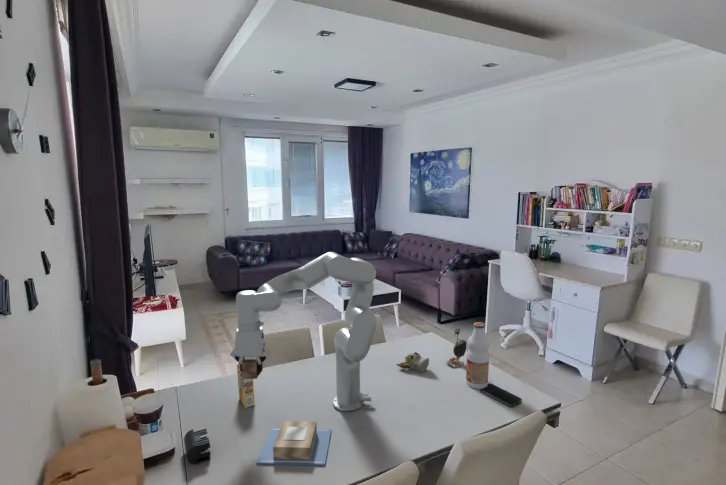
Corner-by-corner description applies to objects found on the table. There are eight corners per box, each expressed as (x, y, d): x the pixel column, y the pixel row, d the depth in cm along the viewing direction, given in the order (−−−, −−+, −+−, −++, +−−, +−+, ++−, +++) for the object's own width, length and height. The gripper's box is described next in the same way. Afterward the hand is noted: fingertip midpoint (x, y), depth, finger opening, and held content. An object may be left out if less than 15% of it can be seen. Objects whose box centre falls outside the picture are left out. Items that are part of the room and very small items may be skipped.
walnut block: (260, 372, 147) (259, 356, 146) (256, 378, 142) (255, 363, 141) (247, 371, 147) (246, 356, 146) (242, 378, 142) (241, 362, 141)
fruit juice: (479, 391, 170) (482, 329, 166) (461, 383, 178) (463, 323, 173) (492, 384, 176) (495, 324, 172) (474, 376, 183) (476, 318, 179)
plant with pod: (471, 364, 195) (472, 325, 192) (452, 369, 191) (453, 329, 188) (460, 358, 203) (462, 320, 200) (442, 362, 198) (443, 323, 195)
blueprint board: (331, 430, 144) (331, 429, 144) (324, 465, 127) (324, 463, 127) (271, 429, 145) (271, 427, 145) (256, 464, 127) (256, 462, 127)
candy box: (255, 405, 161) (253, 369, 159) (244, 408, 159) (242, 372, 156) (248, 395, 168) (246, 361, 166) (238, 398, 166) (236, 364, 164)
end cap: (184, 449, 135) (183, 431, 134) (207, 443, 138) (205, 425, 137) (187, 468, 126) (185, 448, 125) (211, 460, 130) (209, 441, 128)
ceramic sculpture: (424, 359, 182) (395, 353, 190) (424, 377, 183) (395, 370, 191) (433, 351, 191) (405, 345, 199) (433, 368, 192) (406, 362, 200)
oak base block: (316, 433, 143) (316, 421, 142) (310, 461, 129) (309, 447, 128) (283, 433, 143) (283, 420, 142) (273, 460, 129) (273, 446, 129)
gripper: (275, 321, 145) (277, 368, 148) (229, 321, 145) (232, 368, 148) (269, 329, 137) (272, 378, 140) (221, 329, 138) (224, 378, 141)
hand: (251, 372), depth 144 cm, fingers closed on walnut block, 5 cm apart
